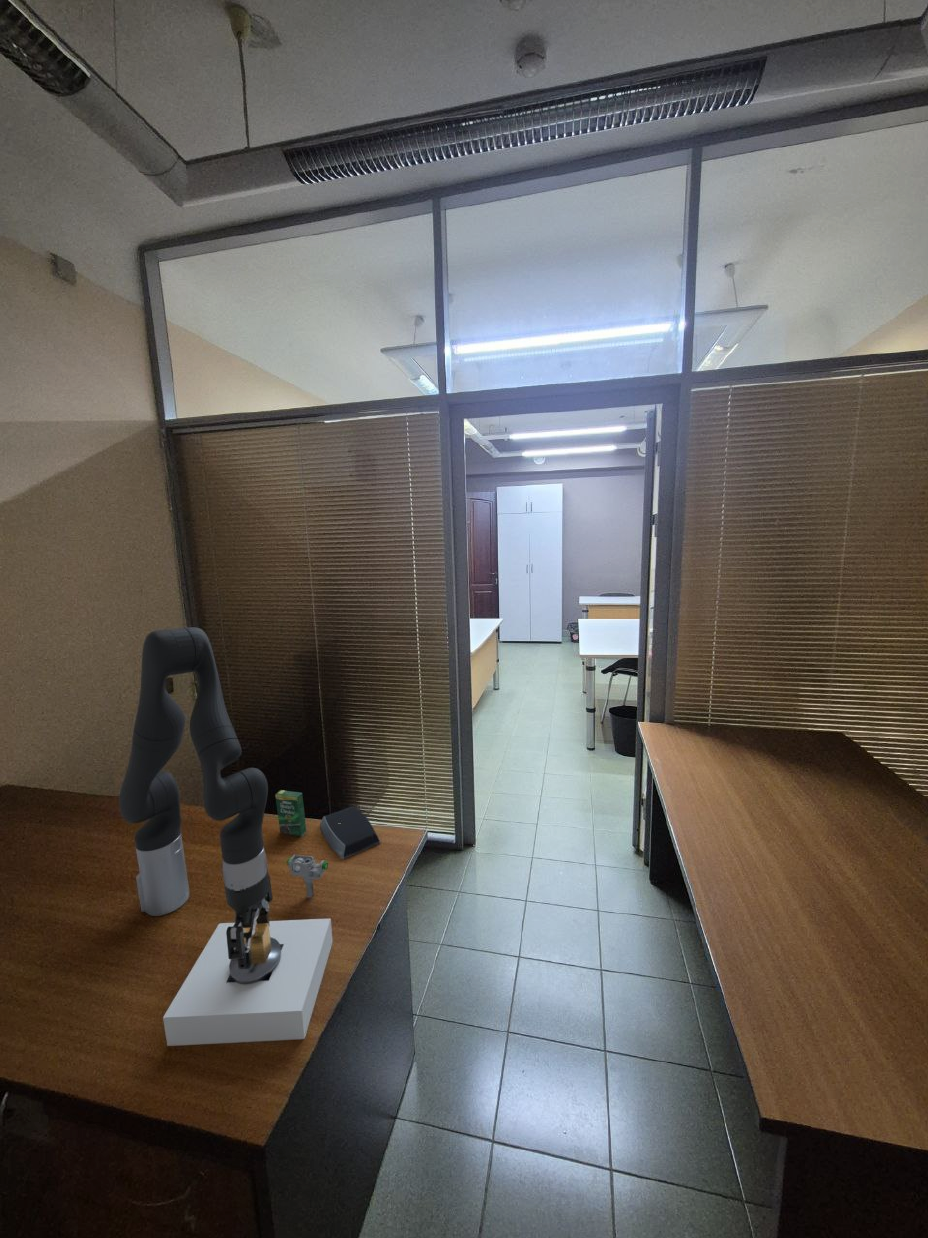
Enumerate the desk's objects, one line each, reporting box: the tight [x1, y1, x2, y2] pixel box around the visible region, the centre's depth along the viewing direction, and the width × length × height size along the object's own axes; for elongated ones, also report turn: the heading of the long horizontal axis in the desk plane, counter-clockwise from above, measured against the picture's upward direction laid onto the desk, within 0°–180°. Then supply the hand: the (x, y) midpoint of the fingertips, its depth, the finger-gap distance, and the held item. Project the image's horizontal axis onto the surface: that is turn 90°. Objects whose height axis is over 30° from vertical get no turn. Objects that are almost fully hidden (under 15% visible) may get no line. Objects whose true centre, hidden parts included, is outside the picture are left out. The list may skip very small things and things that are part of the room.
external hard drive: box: [319, 805, 381, 860], centre depth 139 cm, size 13×19×4 cm
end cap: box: [229, 923, 281, 984], centre depth 90 cm, size 9×9×12 cm
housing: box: [162, 918, 333, 1047], centre depth 91 cm, size 24×20×6 cm
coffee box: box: [275, 789, 307, 837], centre depth 139 cm, size 8×3×13 cm, turn 73°
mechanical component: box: [286, 854, 329, 899], centre depth 114 cm, size 3×10×10 cm, turn 78°
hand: (254, 947), depth 90 cm, fingers open, 8 cm apart
